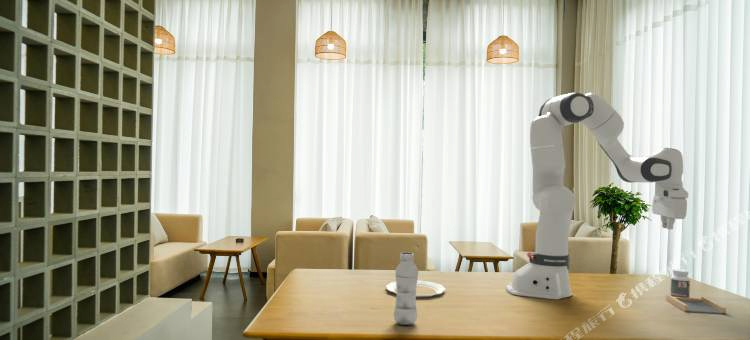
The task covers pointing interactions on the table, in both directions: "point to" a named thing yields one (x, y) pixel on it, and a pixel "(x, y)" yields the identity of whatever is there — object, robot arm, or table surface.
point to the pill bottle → (680, 283)
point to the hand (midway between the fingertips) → (667, 228)
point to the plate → (432, 285)
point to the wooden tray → (696, 305)
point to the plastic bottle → (406, 290)
